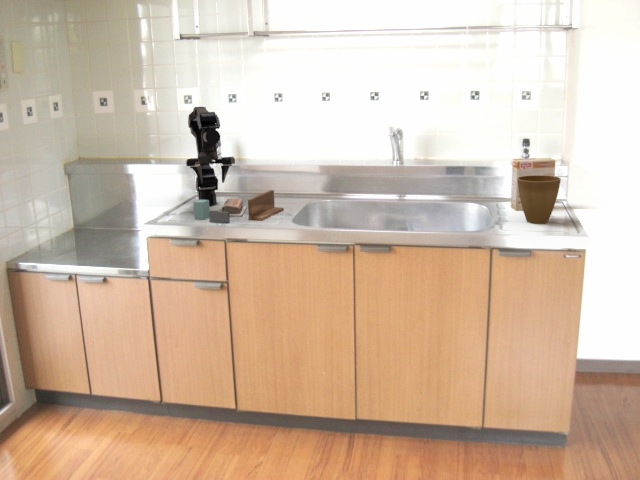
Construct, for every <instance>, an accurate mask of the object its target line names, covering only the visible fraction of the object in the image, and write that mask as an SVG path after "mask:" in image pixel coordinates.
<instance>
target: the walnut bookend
mask: <svg viewBox="0 0 640 480" xmlns="http://www.w3.org/2000/svg"><path fill="white" fill-rule="evenodd" d="M247 208H248V210H247V211H248V212H247V213H248V220H249V221H259V222H263V221H264V220H267V219H269V218H270V217H273V216H274V215H277V214H278V213H280V212H282V211H284V207H279V206H277V207H276V206H275V190H274V189H271V190H268V191H264V192H262V193H260V194H258V195H255V196H253V197H250V198H248V199H247Z"/></svg>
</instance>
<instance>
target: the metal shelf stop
mask: <svg viewBox="0 0 640 480" xmlns="http://www.w3.org/2000/svg"><path fill="white" fill-rule="evenodd" d="M230 218H231V217H229V212H219V211H215V210H210V212H209V218H208V219H209V222H210V223H222V224H230V222H231V221H230Z"/></svg>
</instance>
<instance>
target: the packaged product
mask: <svg viewBox="0 0 640 480" xmlns="http://www.w3.org/2000/svg"><path fill="white" fill-rule="evenodd" d="M243 202H244V201H243V198H238V197H237V198H227V199H226V201H225V202H224V204H223V205H222V207H221V209H219V211H218V212H229V217H230V218H241V217H243V216H244V213H246V211H247V208H248V205H243Z"/></svg>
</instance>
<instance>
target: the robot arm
mask: <svg viewBox="0 0 640 480" xmlns="http://www.w3.org/2000/svg"><path fill="white" fill-rule="evenodd" d="M187 118H188V119H187V125H188V128H189V130H190V134H191V135H192V136H193V137H194V138H195V145H196V151H197V158H196V157H194V158H193V157H192V158H188V159H186V163H185V164H186V167H189V168H190V169H192V170H193V171H194V172H195V174H196V179H195V191H196V192H198V200H209V207H212V206H214V205H217V204H218V202H217V193H215V192H216V191H218V190H219V179H218V177H217V175H216V173H215V169H214V168H213V167H212V166H211V164H212V165H214V164H221V165H220V168H221V182H222V184H223V183H225V182H226V177H227V173H228V172H229V169H230V167H232V166H233V165H234V164H236V159H235V156H223V157H221V158H219V155H218V149H219V148H218V147H219V146H218V145H217V144H218V143H219V142H220V140H221V134H220V132H219V131H218V129H220V127H221V122H220V119H219V116H218V115H217V114H216V112H215V111H208V110H207V108H206V107H205V106H195V107H193V109H192V111H191V112H190V113H189V115H188V117H187Z"/></svg>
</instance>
